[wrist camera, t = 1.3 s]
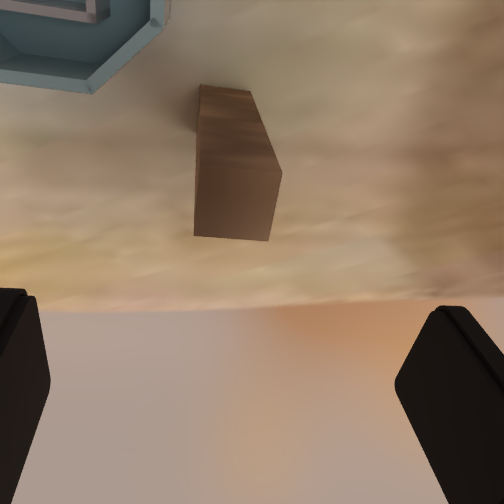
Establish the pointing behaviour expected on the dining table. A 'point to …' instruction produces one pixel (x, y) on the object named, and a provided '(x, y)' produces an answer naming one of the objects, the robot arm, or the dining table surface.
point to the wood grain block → (233, 168)
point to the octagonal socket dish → (74, 40)
